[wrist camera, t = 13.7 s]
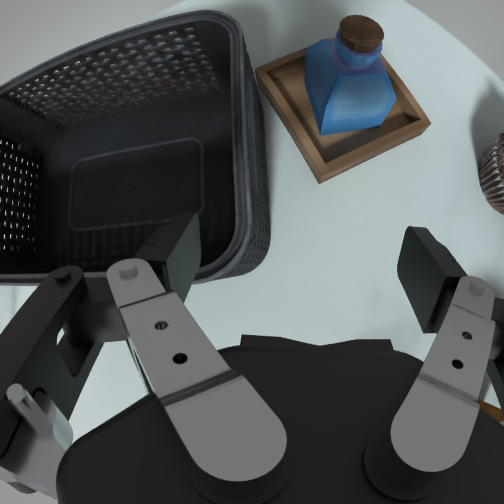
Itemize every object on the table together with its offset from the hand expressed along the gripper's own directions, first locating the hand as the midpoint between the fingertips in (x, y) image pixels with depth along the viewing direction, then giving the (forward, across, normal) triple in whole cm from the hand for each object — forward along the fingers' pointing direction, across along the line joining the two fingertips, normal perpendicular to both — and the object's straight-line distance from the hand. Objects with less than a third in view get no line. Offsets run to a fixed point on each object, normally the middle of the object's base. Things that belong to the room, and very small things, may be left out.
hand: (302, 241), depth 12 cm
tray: (+23, -5, -4) cm, 24 cm away
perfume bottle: (+23, -5, -4) cm, 24 cm away
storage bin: (+20, +16, +5) cm, 26 cm away
